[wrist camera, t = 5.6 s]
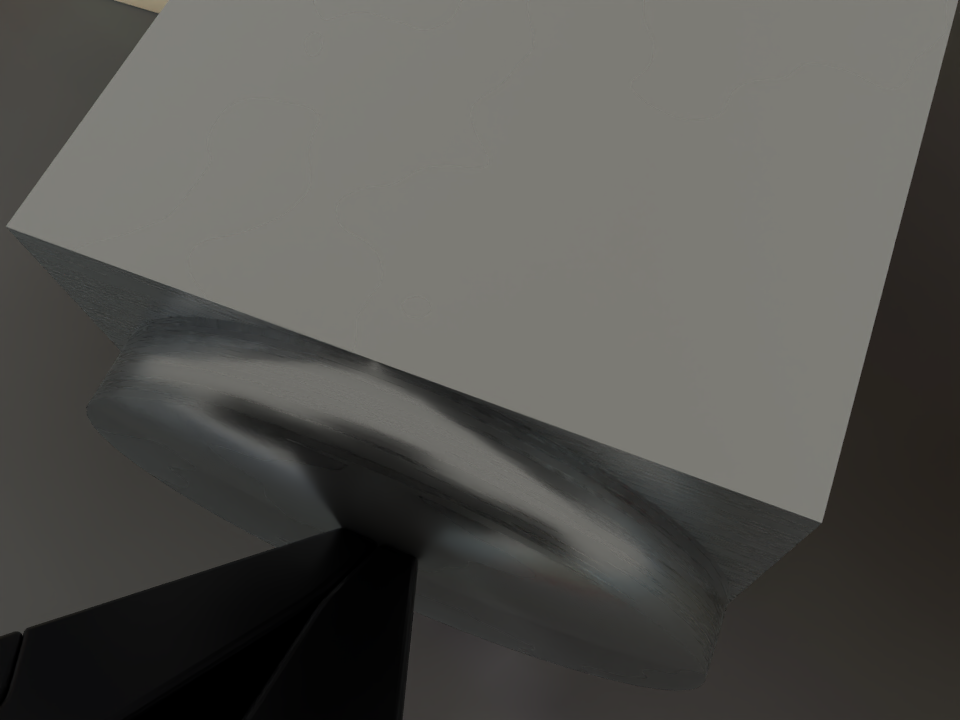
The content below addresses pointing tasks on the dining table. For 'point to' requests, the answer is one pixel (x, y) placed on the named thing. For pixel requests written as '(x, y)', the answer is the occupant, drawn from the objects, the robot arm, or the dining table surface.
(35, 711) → the robot arm
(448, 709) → the dining table surface
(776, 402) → the cube on metal disc
